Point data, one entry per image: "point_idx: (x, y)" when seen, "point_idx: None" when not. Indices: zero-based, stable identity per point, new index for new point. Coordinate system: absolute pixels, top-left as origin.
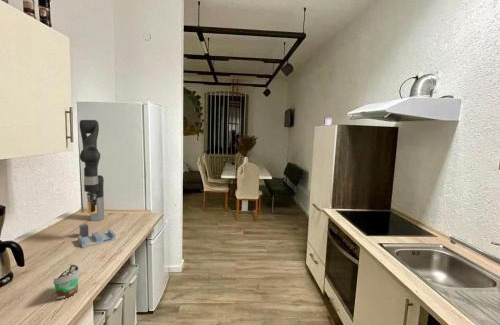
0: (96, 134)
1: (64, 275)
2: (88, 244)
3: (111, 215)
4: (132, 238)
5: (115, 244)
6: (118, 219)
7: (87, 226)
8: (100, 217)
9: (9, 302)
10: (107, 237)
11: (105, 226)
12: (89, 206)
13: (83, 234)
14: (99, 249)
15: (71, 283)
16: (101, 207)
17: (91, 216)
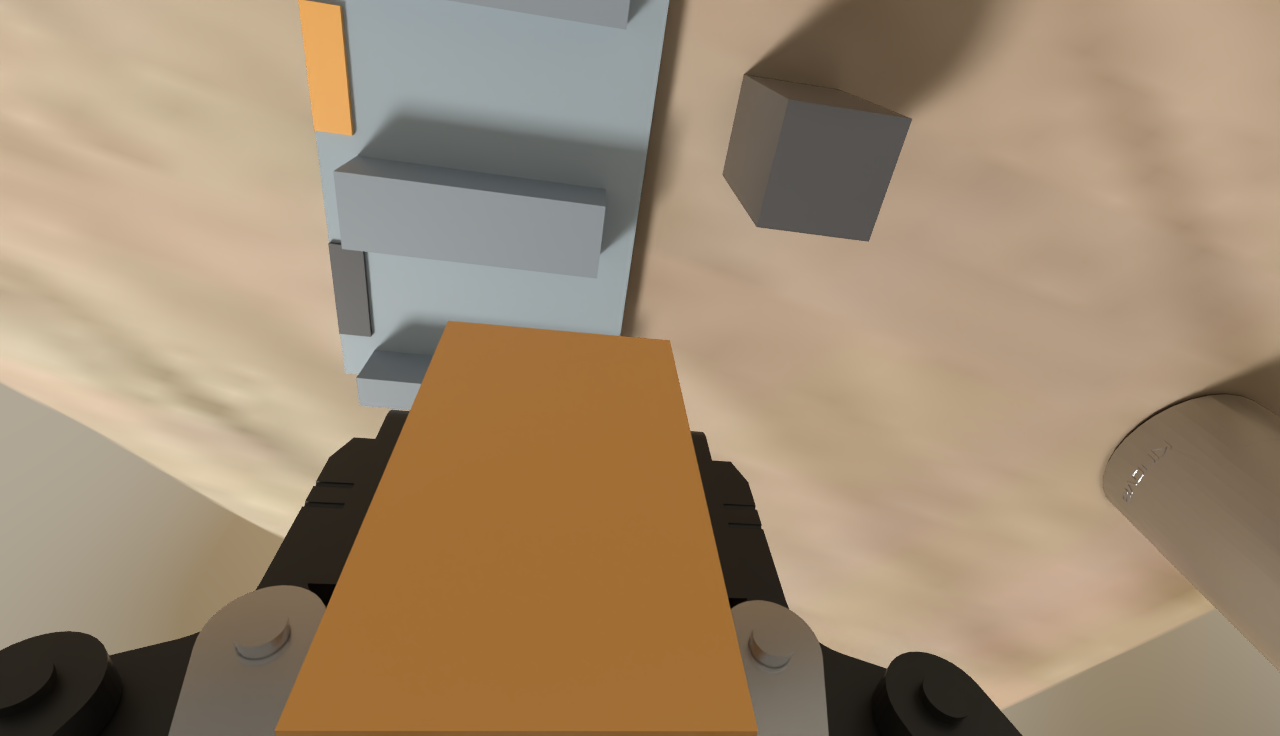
0: None
1: None
2: (309, 24)
3: (1122, 575)
4: (300, 485)
5: (208, 308)
6: (946, 577)
7: (756, 212)
8: (1132, 488)
9: None
10: (443, 318)
11: (872, 432)
12: (371, 521)
13: (745, 115)
14: (121, 99)
15: None
16: (1242, 613)
17: (1252, 431)
